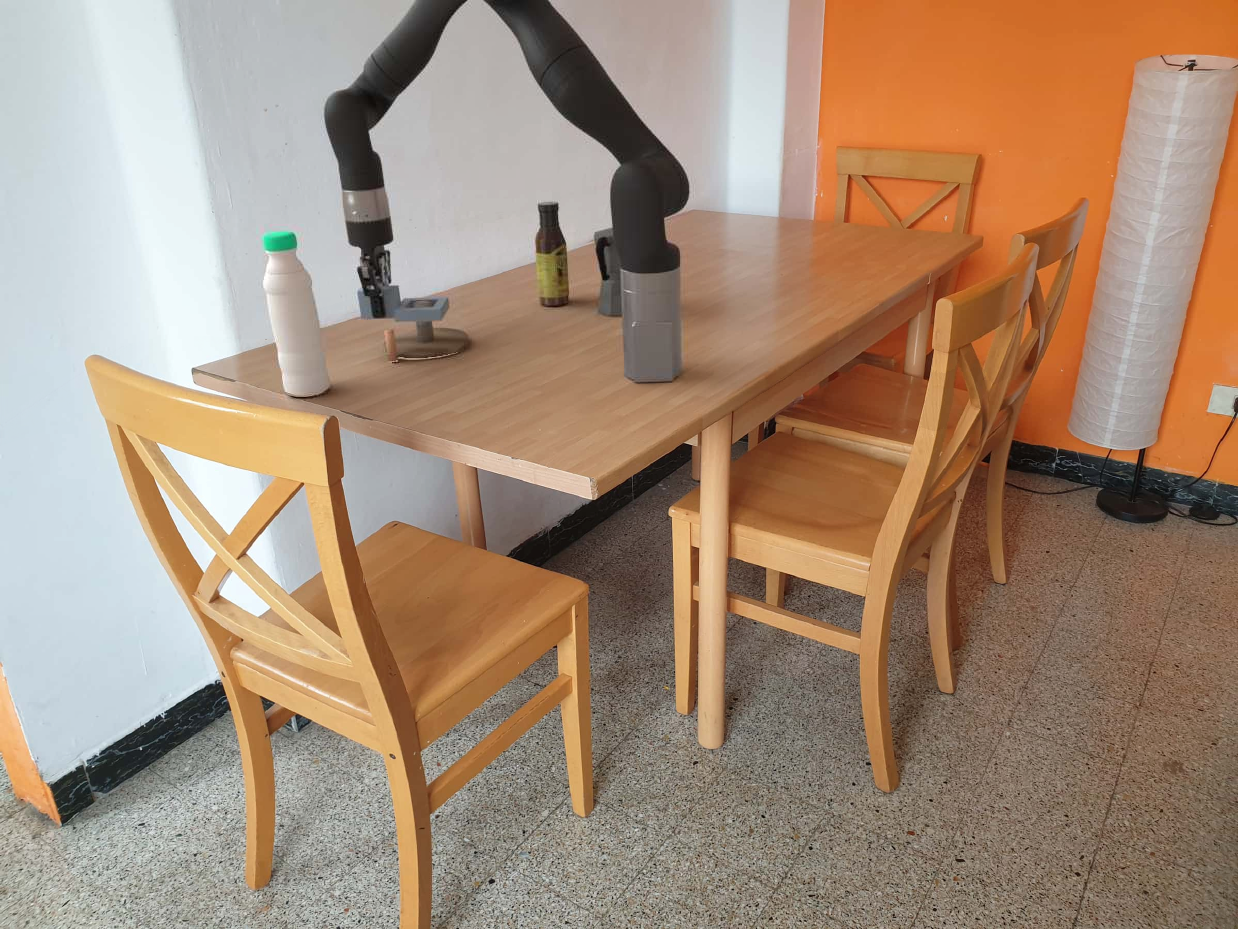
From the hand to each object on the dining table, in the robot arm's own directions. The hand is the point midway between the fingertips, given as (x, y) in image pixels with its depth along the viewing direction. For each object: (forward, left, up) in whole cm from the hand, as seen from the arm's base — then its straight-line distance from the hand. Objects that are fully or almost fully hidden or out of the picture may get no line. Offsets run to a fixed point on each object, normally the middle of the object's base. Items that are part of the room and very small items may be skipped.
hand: (382, 314), depth 168 cm
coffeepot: (+18, -41, -6) cm, 45 cm away
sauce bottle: (+26, -28, -6) cm, 39 cm away
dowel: (-8, -3, -6) cm, 10 cm away
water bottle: (-21, +8, -6) cm, 23 cm away
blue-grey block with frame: (0, -4, 0) cm, 4 cm away
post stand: (0, -7, -6) cm, 10 cm away
